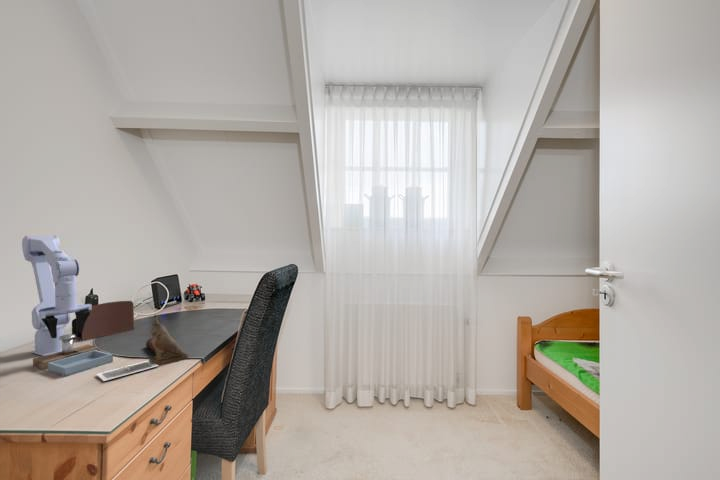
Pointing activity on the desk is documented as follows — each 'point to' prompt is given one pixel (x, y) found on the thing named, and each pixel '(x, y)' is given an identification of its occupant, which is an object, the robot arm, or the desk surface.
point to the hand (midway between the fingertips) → (67, 334)
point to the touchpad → (125, 370)
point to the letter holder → (106, 320)
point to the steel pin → (67, 343)
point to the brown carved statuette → (165, 346)
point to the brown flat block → (44, 360)
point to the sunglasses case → (150, 345)
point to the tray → (79, 362)
